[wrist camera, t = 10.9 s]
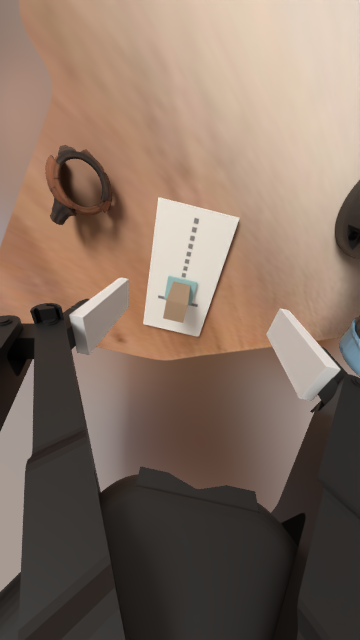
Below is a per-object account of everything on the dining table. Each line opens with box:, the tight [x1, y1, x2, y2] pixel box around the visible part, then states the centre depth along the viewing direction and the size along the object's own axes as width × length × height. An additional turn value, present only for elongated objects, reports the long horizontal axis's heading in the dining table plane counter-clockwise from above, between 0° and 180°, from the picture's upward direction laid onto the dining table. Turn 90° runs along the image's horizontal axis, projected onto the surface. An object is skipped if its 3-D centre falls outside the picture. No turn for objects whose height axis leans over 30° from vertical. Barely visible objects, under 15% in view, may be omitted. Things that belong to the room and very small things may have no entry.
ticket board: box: [143, 197, 239, 337], centre depth 37 cm, size 14×26×2 cm, turn 168°
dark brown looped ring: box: [46, 145, 112, 225], centre depth 29 cm, size 12×10×8 cm
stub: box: [163, 276, 197, 323], centre depth 33 cm, size 6×5×10 cm
